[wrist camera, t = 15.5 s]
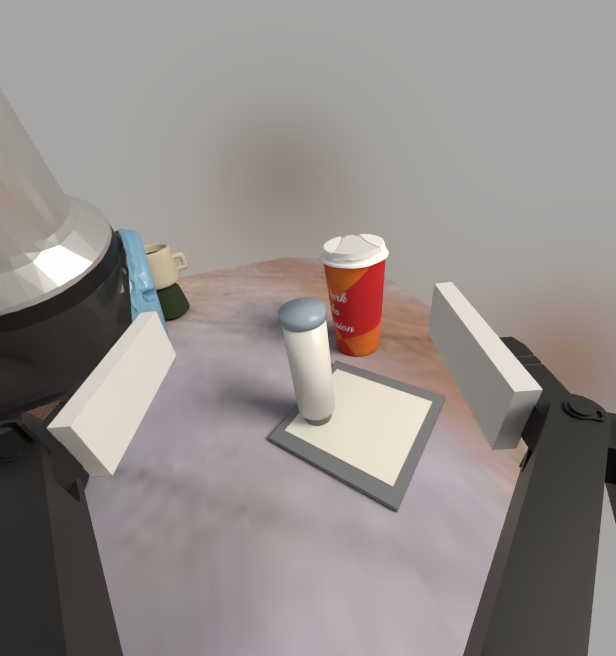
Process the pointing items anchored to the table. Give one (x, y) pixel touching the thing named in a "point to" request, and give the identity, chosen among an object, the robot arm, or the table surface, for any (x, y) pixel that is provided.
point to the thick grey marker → (309, 358)
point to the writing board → (366, 433)
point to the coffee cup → (355, 290)
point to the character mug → (167, 278)
